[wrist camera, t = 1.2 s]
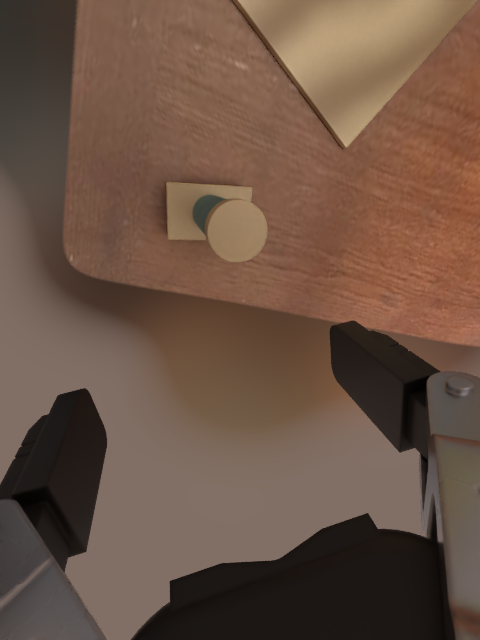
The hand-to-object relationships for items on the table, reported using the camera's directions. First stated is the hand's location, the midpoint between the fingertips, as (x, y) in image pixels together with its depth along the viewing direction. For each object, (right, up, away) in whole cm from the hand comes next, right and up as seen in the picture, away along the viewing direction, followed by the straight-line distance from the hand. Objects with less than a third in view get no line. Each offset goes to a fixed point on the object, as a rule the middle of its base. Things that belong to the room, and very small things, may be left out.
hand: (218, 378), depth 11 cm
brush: (-2, +12, +20) cm, 24 cm away
